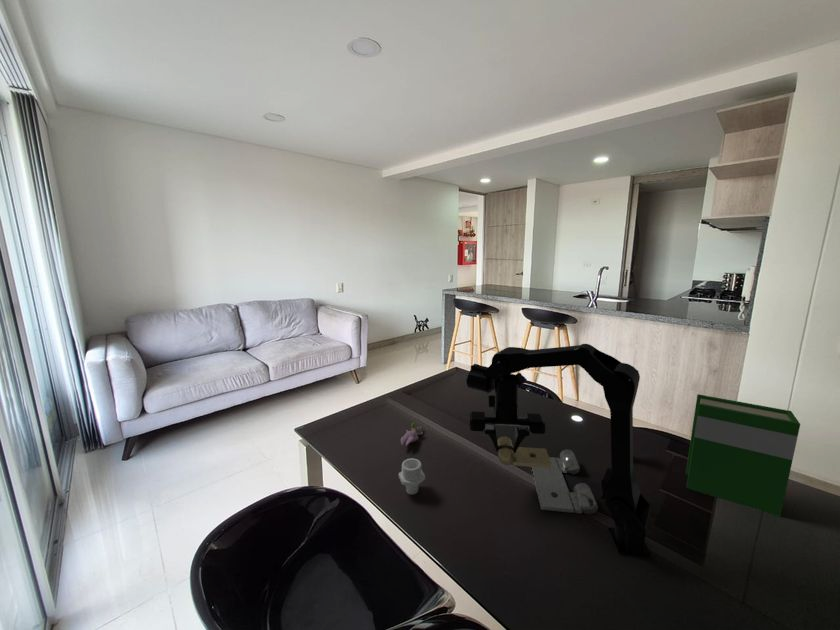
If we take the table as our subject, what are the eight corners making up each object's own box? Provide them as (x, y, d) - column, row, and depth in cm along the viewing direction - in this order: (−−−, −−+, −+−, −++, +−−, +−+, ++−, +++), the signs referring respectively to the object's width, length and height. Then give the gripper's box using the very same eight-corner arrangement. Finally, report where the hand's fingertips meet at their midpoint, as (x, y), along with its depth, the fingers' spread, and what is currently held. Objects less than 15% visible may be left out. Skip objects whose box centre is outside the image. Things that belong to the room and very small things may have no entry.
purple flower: (410, 432, 125) (394, 448, 111) (410, 415, 125) (395, 430, 110) (426, 434, 123) (413, 451, 109) (427, 418, 123) (413, 433, 108)
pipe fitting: (418, 479, 97) (417, 453, 96) (428, 495, 91) (427, 468, 89) (397, 485, 95) (396, 459, 94) (405, 502, 89) (404, 475, 87)
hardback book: (686, 488, 92) (699, 404, 87) (685, 473, 98) (697, 394, 93) (780, 516, 82) (800, 424, 77) (772, 498, 87) (791, 411, 83)
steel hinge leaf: (597, 515, 83) (598, 500, 82) (541, 509, 85) (541, 495, 85) (573, 461, 104) (574, 449, 103) (528, 458, 106) (529, 446, 105)
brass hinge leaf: (551, 468, 87) (552, 453, 86) (498, 464, 88) (498, 450, 88) (545, 452, 93) (546, 438, 93) (496, 449, 95) (497, 435, 95)
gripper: (538, 385, 95) (536, 437, 98) (469, 383, 98) (470, 434, 101) (546, 403, 84) (544, 460, 87) (469, 400, 87) (470, 456, 90)
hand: (505, 451), depth 91 cm, fingers closed on brass hinge leaf, 4 cm apart
